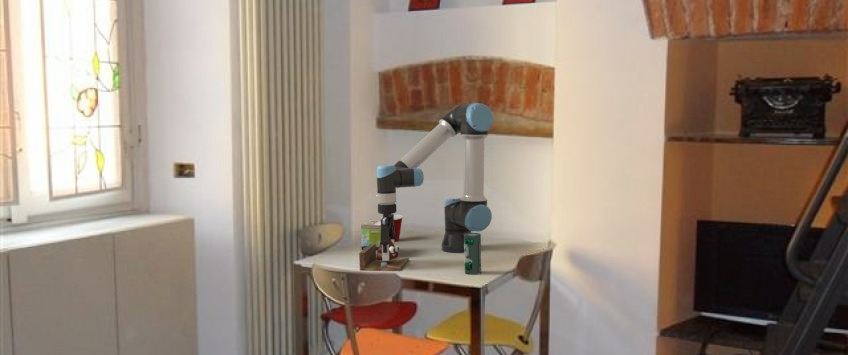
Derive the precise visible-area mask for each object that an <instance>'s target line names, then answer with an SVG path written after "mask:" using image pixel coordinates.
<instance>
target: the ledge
mask: <svg viewBox="0 0 848 355" xmlns="http://www.w3.org/2000/svg"><path fill="white" fill-rule="evenodd" d="M358 255H359V271H362V272H364V271H365V272H366V271H370V272H371V271H375V272H376V271H377V272H378V271H379V272H380V271H381V272H382V271H383V272H394V271H395V272H400V271H401V270H402V268H404V266H405V265H406V264H407V263H408V262H409V261H410V258H409V257H397V258H393V259H391V260H389V261H382V260H378V259H377V258H376V244H374V243H371V244H370V245H369V246H367V247H366V248H365V249H364V250H362V251H361V250H360V252H359V254H358Z"/></svg>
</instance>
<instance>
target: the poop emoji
mask: <svg viewBox="0 0 848 355" xmlns="http://www.w3.org/2000/svg"><path fill="white" fill-rule="evenodd" d="M388 244H389V260H391V259H393V258H399V250H400V247H399V245H397V244H395V243H394V244H393V242H392V241H391V239H390V237H389V238H388ZM376 257H377V259H378V260H382V245H380V246H379V249H378V250H377V254H376Z"/></svg>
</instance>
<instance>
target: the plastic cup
mask: <svg viewBox="0 0 848 355" xmlns="http://www.w3.org/2000/svg"><path fill="white" fill-rule="evenodd" d="M382 218H383V216H381V217H380V220H381V219H382ZM403 218H404V215H401V214H394V228H395V237H396V239H393V240H394V243H395V242H396V243H397V242H399V241H400V235H401V227H402V223H403V222H402V221H403Z"/></svg>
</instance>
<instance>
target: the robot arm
mask: <svg viewBox="0 0 848 355" xmlns="http://www.w3.org/2000/svg"><path fill="white" fill-rule="evenodd" d="M493 122H494V114H493V112H492V110H491V108H490V107H489V106H488V105H486V104H484V103H479V102H470V103H469V102H468V103H466V102H465V103H459V104H458V105H456V106H454V107H453V108H451V109H450V110H449V111H448V112H447V113H446V114H444V116H442V117H441V118H440V120H438V124H437V125H436V126H435V127H434V128H433V129H432V130H431V131H430V132H429V133H428V134H426V136H424V137H423V138H422V139H421V140H420V141H419V142H418V143H417V144H415V146H413V147H412V148H411V149H410V150H409V151H408V152H407V153H405V155H404V156H403V157H402V158H400V159H399V160H398V161H397V162H396V163H395V164H380V165H378V166H377V167H376V189H377V190H376V191H377V194H376V195H375V197H376V198H377V203H378V204H377V213H378V214H380V215H382V217H383V218H382V219H381V218H380V220H381V242H380V245H382V261H389V244H388V238H389V237H390V239H391V241H392V242H393V244H394V245H395V242H394V240H393V239H396V237H395V228H394V215H395V214H396V213H397V189H399V188H415V187H420V186H422V185H423V184H424V179H425V178H424V177H425V176H424V172H423V170H422V169H421V168H419V167H420V166H421V164H423V163H424V162H425V161H426V160H427V159H428V158H430V157H431V155H433V154H434V152H436V151H437V150H438V149H439V148H440V147H441V146H443V145H444V144H445V143H446V142H447V141H448V140H449V139H450V138H454V137H455V136H457V135H458V134H459V133H460V136H461V137H462V138H463V150H464V151H463V195H462V196H461V197H457V198H447V199H445V201H444V206H443V209H444V235H443V238H442V241H441V251H443V252H447V253H465V252H464V234H466V233H472V232H482V231H484V230H486V229H487V228H488V227H489V226H490V224H491V223H492V219H493V218H492V216H493V215H492V214H493V213H492V210H491V209H490V208H489V206H488V199H487V198H486V196H485V195H484V194H485V192H484V191H485V187H484V186H485V185H484V184H485V139H486V138H487V137H488V136H489V129H490V128H491V126H492V125H493Z"/></svg>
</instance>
